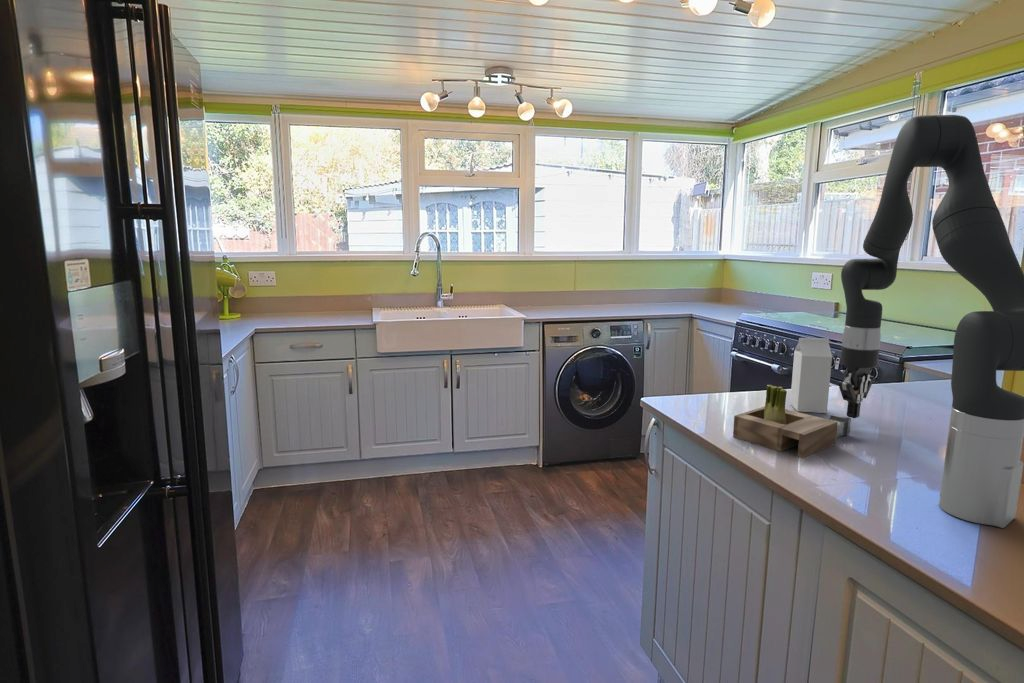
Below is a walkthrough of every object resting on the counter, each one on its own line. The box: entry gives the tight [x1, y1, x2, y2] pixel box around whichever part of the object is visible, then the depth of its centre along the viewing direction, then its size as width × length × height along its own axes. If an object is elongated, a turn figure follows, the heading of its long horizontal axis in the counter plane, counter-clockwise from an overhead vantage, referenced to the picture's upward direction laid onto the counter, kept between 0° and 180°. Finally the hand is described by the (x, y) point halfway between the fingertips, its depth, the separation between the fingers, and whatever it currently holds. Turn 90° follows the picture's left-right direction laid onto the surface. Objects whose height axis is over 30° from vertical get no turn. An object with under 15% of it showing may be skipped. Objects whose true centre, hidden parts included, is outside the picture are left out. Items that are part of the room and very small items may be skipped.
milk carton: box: [789, 337, 833, 414], centre depth 150 cm, size 7×7×19 cm
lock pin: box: [829, 413, 852, 439], centre depth 128 cm, size 4×13×4 cm, turn 126°
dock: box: [732, 405, 838, 459], centre depth 128 cm, size 16×14×5 cm
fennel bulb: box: [764, 384, 787, 425], centre depth 129 cm, size 6×5×12 cm
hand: (852, 416), depth 136 cm, fingers closed
